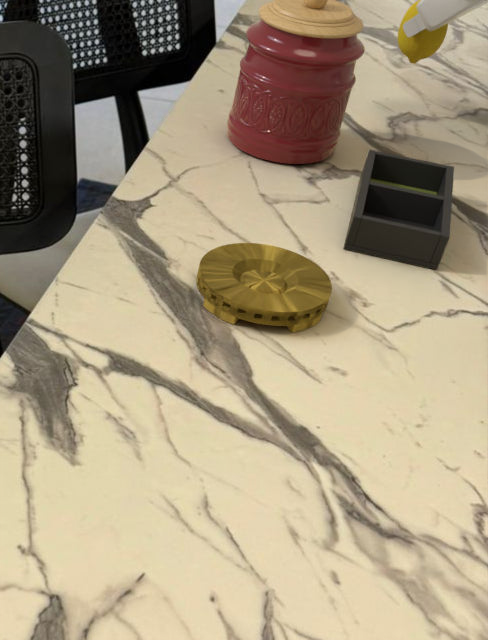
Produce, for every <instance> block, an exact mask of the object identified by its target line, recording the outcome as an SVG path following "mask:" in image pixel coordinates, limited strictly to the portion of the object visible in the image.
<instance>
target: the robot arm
mask: <svg viewBox="0 0 488 640" xmlns="http://www.w3.org/2000/svg"><path fill="white" fill-rule="evenodd" d="M486 4H488V0H421V1H420V2H419V3H418V4H417V10H418V12H419V13H418V14H417V15H416V16H415V17H413V18H412V19H410V20H409V21H407V22H406V23H404V25H403V30H404V32H405V34H406V36H407V37H412V36H414V35H416V34H417V33H419V32H421V31H422V30H424V29H427V30H428V31H433V30H436V29H438V28H440V27H442V26H444V25H446V24H448V25H449V24H450V23H452V22H454V21H456V20H457V19H459V18H461V17H463V16H465V15H467V14H468V13H471V12H473V11H475V10H477V9H479V8H481V7H483V6H485V5H486Z"/></svg>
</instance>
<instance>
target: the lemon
mask: <svg viewBox="0 0 488 640" xmlns="http://www.w3.org/2000/svg"><path fill="white" fill-rule="evenodd" d="M420 1H421V0H417V1H415V2H414V3H412V5H410V6H409V8H408V9H407V10H406V12H405V14H404V15H403V17H402V19H401V22H400V23H399V27H398V32H397V44H398V48H399V50H400V52H401V53H402V54H403V56H405V57H406V58H407V59H408V61H409V63H410V64H413V65H414V64H417V63H418V62H419V61H421V60H425V59H428V58H430V57H432V56H433V55H434V54H435V53H436V52H438V50H439V49H440V48H441V46H442V45H443V43H444V41H445V39H446V36H447V34H448V33H447V32H448V28H449V27H448V26H449V23H448V24H446V25H444V26H442V27H440V28H438V29H436V30H433V31H428V30H427V29H424V30H422V31H421V32H419V33H417V34H416V35H414V36H412V37H407V36H406V34H405V32H404V30H403V25H404V23H406V22H407V21H409V20H410V19H412V18H413V17H415V16H416V15H417V14H418V13H419V12H418V10H417V4H418V3H419V2H420Z"/></svg>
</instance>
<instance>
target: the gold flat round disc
mask: <svg viewBox="0 0 488 640" xmlns="http://www.w3.org/2000/svg"><path fill="white" fill-rule="evenodd" d="M195 280H196V281H195V282H196V287H197V290H198V291H199V293H200V295H201V296H202V297H203V298H204V299H203V304H202V306H203V307H204V308H205V309H206V310H207V311H208V312H210V313H211V314H212V315H214V316H215V317H217V318H218V319H220V320H222V321H224V322H226V323H229V324H231V325H233V326H234V325H235V324H236V323H237V322H238V321H239V320H243V321H245V322H249V323H253V324H258V325H266V326H274V327H275V326H276V327H286V328H287V329H288V330H289V331H290V333H297V332H301V331H306V330H308V329H310V328H312V327H314V326H316V325H317V324H318V323H319V322H321V319H322V317H323V314H324V312H325V311H326V309H327V307H328V305H329V303H330V299H331V295H332V292H333V284H332V280H331V279H330V277H329V275H328V274H327V272H326V271H325V270H324V269H323V268H322V267H321V266H320V265H319V264H317V263H316V262H314V261H313V260H311V259H309V258H308V257H306V256H304V255H302V254H299V253H297V252H295V251H292V250H289V249H287V248H283V247H280V246H275V245H270V244H264V243H256V242H255V243H254V242H236V243H229V244H223V245H220V246H216V247H215V248H213V249H211V250H209V251H208V252H206V253H205V254H204V255H203V256H202V257H201V259H200V262H199V264H198V269H197V273H196V279H195Z"/></svg>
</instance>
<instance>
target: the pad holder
mask: <svg viewBox="0 0 488 640" xmlns="http://www.w3.org/2000/svg"><path fill="white" fill-rule="evenodd" d="M454 174H455V166H452V165H448V164H447V165H446V164H443V163H437V162H433V161H428V160H423V159H418V158H414V157H409V156H403V155H398V154H393V153H388V152H384V151H379V150H375V149H374V150H373V149H368V152H367V155H366V158H365V162H364V165H363V167H362V170H361V173H360V177H359V181H358V185H357V188H356V193H355V198H354V202H353V206H352V210H351V214H350V219H349V223H348V227H347V232H346V236H345V240H344V245H343V250H346V251H350V252H354V253H360V254H364V255H368V256H371V257H377V258H381V259H386V260H391V261H395V262H399V263H404V264H408V265H413V266H416V267H420V268H421V267H422V268H425V269H430V270H434V271H437V270H438V268H439V265H440V262H441V260H442V258H443V256H444V253H445V250H446V248H447V245H448V242H449V239H450V234H451V220H452V219H451V218H452V204H453V192H454V191H453V190H454V176H455V175H454Z"/></svg>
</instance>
